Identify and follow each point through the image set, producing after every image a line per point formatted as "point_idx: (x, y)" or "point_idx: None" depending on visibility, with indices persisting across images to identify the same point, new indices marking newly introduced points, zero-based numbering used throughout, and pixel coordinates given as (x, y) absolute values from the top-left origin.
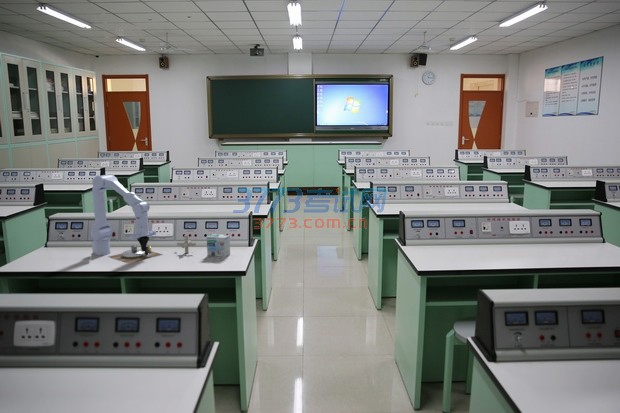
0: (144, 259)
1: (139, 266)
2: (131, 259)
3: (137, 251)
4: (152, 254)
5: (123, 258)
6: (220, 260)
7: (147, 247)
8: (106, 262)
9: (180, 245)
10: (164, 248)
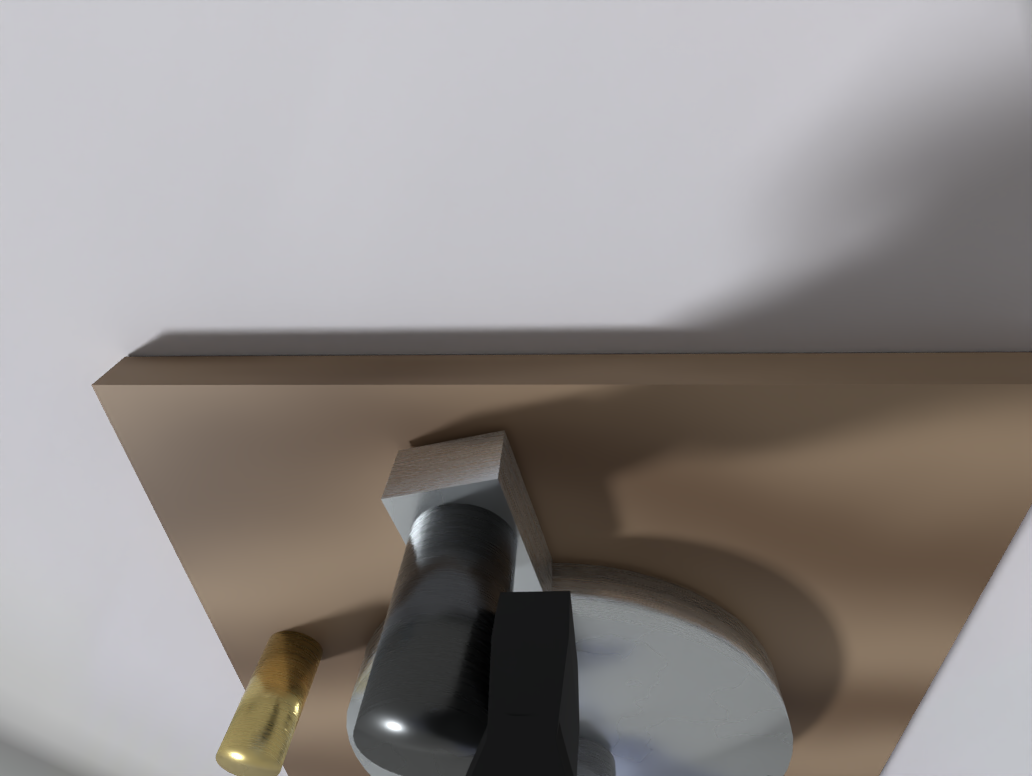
0: (625, 385)
1: (1014, 83)
2: (785, 569)
3: None
4: (300, 545)
5: (805, 689)
6: None
7: (427, 682)
8: (980, 736)
9: None
10: (10, 686)
